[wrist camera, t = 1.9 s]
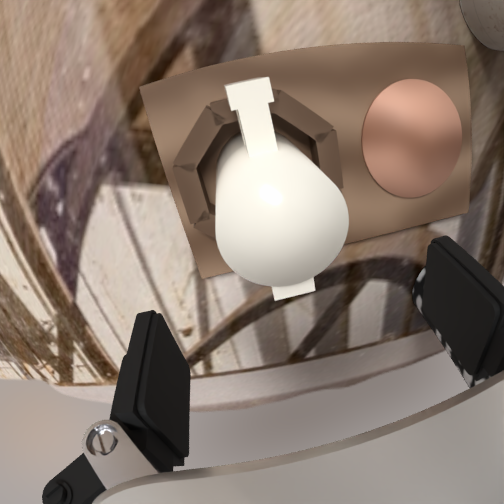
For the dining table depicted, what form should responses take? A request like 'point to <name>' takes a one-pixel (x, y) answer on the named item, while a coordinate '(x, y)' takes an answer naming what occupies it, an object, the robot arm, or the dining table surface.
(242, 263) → the white ceramic pitcher
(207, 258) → the holder board
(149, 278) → the dining table surface
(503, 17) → the thermos bottle
